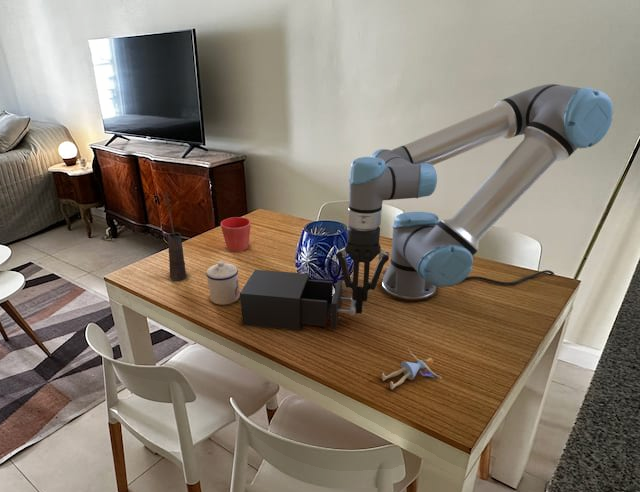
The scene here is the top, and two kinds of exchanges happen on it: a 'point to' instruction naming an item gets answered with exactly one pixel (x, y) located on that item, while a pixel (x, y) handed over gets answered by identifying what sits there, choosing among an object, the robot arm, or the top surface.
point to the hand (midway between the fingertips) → (359, 310)
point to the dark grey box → (273, 299)
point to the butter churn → (175, 252)
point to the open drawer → (323, 303)
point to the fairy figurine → (410, 370)
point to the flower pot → (236, 233)
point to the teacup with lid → (223, 283)
